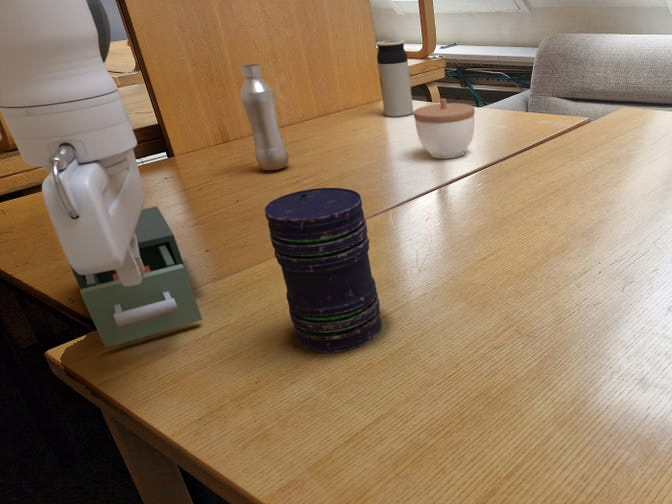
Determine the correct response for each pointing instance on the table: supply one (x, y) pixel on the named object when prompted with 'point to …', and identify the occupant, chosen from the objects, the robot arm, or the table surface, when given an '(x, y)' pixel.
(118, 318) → the drawer
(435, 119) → the lidded bowl
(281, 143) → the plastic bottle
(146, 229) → the cabinet
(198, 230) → the table surface
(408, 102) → the travel mug
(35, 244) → the table surface
